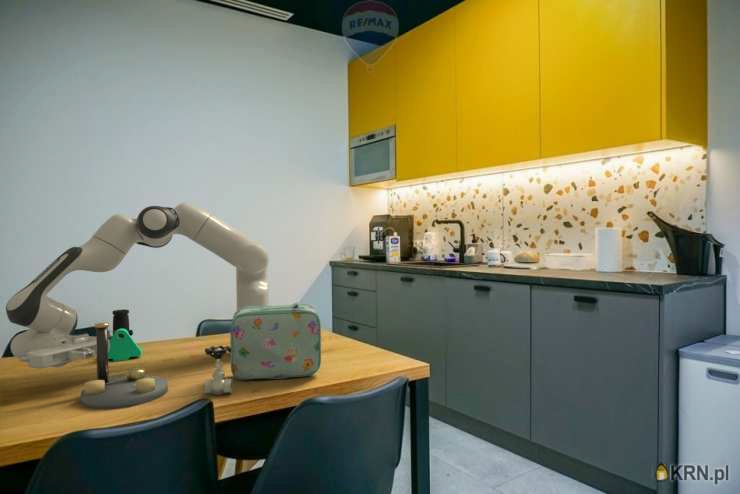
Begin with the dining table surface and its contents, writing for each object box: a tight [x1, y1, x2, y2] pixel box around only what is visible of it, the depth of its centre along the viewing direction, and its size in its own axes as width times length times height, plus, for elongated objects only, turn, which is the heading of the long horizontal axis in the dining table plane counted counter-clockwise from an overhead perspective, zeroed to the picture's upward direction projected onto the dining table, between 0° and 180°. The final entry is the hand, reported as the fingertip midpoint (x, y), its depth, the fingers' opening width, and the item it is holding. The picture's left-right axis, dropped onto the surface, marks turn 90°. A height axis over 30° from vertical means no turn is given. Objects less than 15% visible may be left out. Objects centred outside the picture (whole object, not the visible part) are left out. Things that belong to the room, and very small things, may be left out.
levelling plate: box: [80, 375, 169, 410], centre depth 123 cm, size 20×20×4 cm
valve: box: [203, 345, 234, 396], centre depth 122 cm, size 7×7×12 cm
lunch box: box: [229, 301, 323, 381], centre depth 139 cm, size 27×10×21 cm, turn 102°
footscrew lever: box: [94, 322, 146, 383], centre depth 127 cm, size 12×4×16 cm, turn 131°
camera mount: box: [108, 329, 143, 362], centre depth 161 cm, size 12×8×10 cm, turn 113°
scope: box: [108, 309, 134, 341], centre depth 175 cm, size 8×14×10 cm
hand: (89, 355), depth 126 cm, fingers closed
